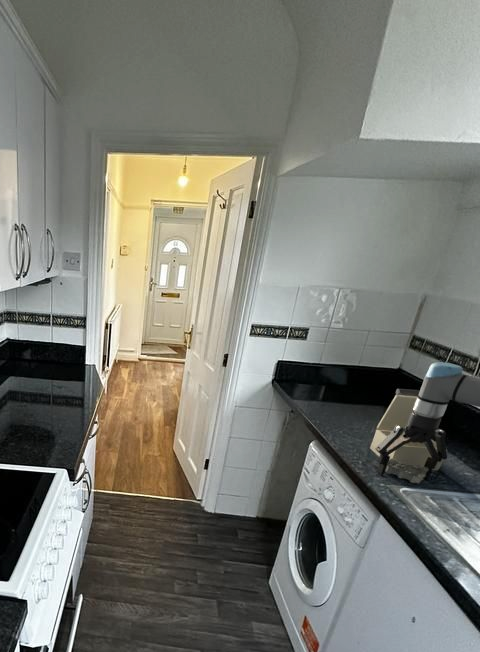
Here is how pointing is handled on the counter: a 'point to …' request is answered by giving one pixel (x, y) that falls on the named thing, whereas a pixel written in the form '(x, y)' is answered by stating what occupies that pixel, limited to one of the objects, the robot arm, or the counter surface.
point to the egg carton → (406, 471)
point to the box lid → (399, 409)
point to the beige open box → (405, 450)
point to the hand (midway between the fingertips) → (401, 474)
